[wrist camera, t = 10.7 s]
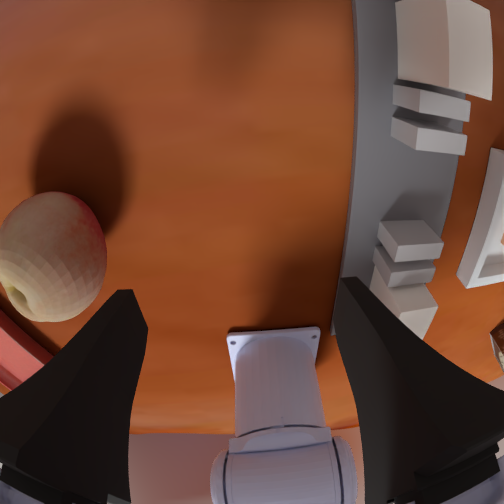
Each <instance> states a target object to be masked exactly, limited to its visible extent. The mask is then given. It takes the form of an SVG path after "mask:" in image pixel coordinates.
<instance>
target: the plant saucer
mask: <svg viewBox="0 0 504 504" xmlns="http://www.w3.org/2000/svg"><path fill="white" fill-rule="evenodd" d="M53 357H54V356H53V355H52V354H50V353H49V352H48V351H47V350H45V349H44V348H43V347H42V346H40V345H39V344H38V343H37V342H36V341H34V340H33V339H32V338H31V337H30V336H29V335H28V334H26V333H25V332H24V331H23V330H22V329H21V328H20V327H19V326H18V325H17V324H15V323H14V322H13V321H12V320H11V319H10V318H9V317H8V316H7V315H6V314H5V313H4V312H3V311H2V310H1V309H0V383H2V384H3V385H4V386H5V387H7V388H8V389H9V390H11V391H12V390H13V389H15V388H16V387H18V386H19V385H20V384H22V383H23V382H24V381H26V380H27V379H28V378H29V377H31V376H32V375H33V374H34V373H36V372H37V371H38V370H40V369H41V368H42V367H43V366H44V365H45V364H46V363H48V362H49V361H50V360H51V359H52V358H53Z"/></svg>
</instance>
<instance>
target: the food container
mask: <svg viewBox="0 0 504 504" xmlns="http://www.w3.org/2000/svg"><path fill="white" fill-rule="evenodd" d="M490 337H491V342H492V346H493V351H494V355H495V357H496V359H497V360H498V362H499V364H500V366H501V368H502V370H503V372H504V323H503V324H501V325H500V326H498V327H497V328H495V329H494V330H493V331H491V332H490Z"/></svg>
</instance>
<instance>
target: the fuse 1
mask: <svg viewBox="0 0 504 504" xmlns="http://www.w3.org/2000/svg"><path fill="white" fill-rule="evenodd" d="M369 289H370V290H371V292H372V293H373V294H374V295H375V296H376V297H377V298H378V299H379V300H380V301H381V302H382V303H383V304H384V305H385V306H386V307H387V308H388V309H389V310H390V311H391V312H392V313H393V314H394V315H395V316H396V317H397V318H398V319H399V320H400V321H402V322H403V323H404V324H405V325H406V326H407V327H408V328H409V329H410V330H411V331H413V332H414V333H415V334H416V335H417V336H418V337H419V338H420V339H423V337H424V336H425V334H426V332H427V330H428V327H429V325H430V323H431V321H432V319H433V317H434V315H435V313H436V311H437V308H438V305H437V303H436V302H435V300H434V298H433V297H432V295H431V294H430V292H429V291H428V289H427V287H426V286H425V284H424V283H419V284H411V285H403V286H395V287H387V286H386V284H385V282H384V280H383V278H382V276H381V275H380V273H379V271H378V269H377V268H376V266H375V267H374V272H373V276H372V280H371V284H370V288H369Z"/></svg>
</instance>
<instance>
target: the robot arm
mask: <svg viewBox="0 0 504 504" xmlns="http://www.w3.org/2000/svg"><path fill="white" fill-rule="evenodd" d="M333 323H334V329H335V334H336V339H337V344H338V347H339V350H340V354H341V357H342V360H343V363H344V366H345V369H346V373H347V376H348V379H349V382H350V385H351V389H352V392H353V395H354V399H355V403H356V408H357V414H358V420H359V426H360V433H361V441H362V450H363V461H364V476H365V477H364V478H365V504H393V503H395V504H504V455H503V456H502V457H500V458H498V459H496V455H495V453H497V452H498V451H499V447H498V444H497V442H498V441H500V440H501V439H503V438H504V391H503V390H500V389H498V388H496V387H493V386H491V385H489V384H487V383H486V382H484V381H482V380H480V379H478V378H476V377H474V376H473V375H471V374H469V373H468V372H466V371H464V370H463V369H461V368H460V367H458V366H457V365H455V364H454V363H452V362H451V361H449V360H448V359H446V358H445V357H444V356H442V355H441V354H439V353H438V352H437V351H436V350H434V349H433V348H432V347H430V346H429V345H428V344H427V343H425V342H424V341H423V340H422V339H420V338H419V337H418V336H417V335H416V334H415V333H414V332H413V331H411V330H410V329H409V328H408V327H407V326H406V325H405V324H404V323H403V322H402V321H400V320H399V319H398V318H397V317H396V316H395V315H394V314H393V313H392V312H391V311H390V310H389V309H388V308H387V307H386V306H385V305H384V304H383V303H382V302H381V301H380V300H379V299H378V298H377V297H376V296H375V295H374V294H373V293H372V292H371V290H370V289H369V288H368V287H367V286H366V285H365V284H364V283H363V282H362V281H361V280H360V279H359V278H358V277H357V276H354V277H343V278H340V281H339V287H338V293H337V298H336V304H335V309H334V315H333ZM147 334H148V327H147V324H146V322H145V320H144V317H143V315H142V312H141V310H140V307H139V305H138V302H137V300H136V297H135V295H134V292H133V289H125V290H117V291H116V292H115V293H114V294H113V295H112V296H111V297H110V298H109V299H108V300H107V301H106V302H105V303H104V304H103V305H102V307H101V308H100V309H99V310H98V311H97V312H96V313H95V314H94V315H93V316H92V318H91V319H90V320H89V321H88V322H87V323H86V324H85V325H84V326H83V327H82V329H81V330H80V331H79V332H78V333H77V334H76V335H75V336H74V337H73V338H72V339H71V340H70V341H69V342H68V343H67V344H66V345H65V346H64V347H63V348H62V349H61V350H60V351H59V352H58V353H57V354H56V355H55V356H54V357H53V358H52V359H51V360H50V361H49V362H48V363H46V364H45V365H44V366H43V367H42V368H41V369H40V370H38V371H37V372H36V373H34V374H33V375H32V376H31V377H29V378H28V379H27V380H26V381H24V382H23V383H22V384H20V385H19V386H18V387H16V388H15V389H13V390H12V391H10V392H9V393H7V394H6V395H4V396H2V397H1V398H0V462H1V463H2V464H3V465H2V469H1V468H0V504H107V503H108V504H130V503H131V498H130V489H129V476H128V444H129V443H128V442H129V428H130V417H131V410H132V404H133V400H134V395H135V391H136V387H137V383H138V379H139V375H140V371H141V367H142V363H143V359H144V355H145V350H146V343H147ZM319 338H320V328H319V327H306V328H294V329H282V330H268V331H252V332H232V333H229V334H228V335H227V343H228V349H229V354H230V359H231V364H232V370H233V375H234V380H235V438H231V439H229V449H224V450H222V451H221V452H220V453H219V455H218V456H217V457H216V458H215V459H214V462H213V464H212V469H211V480H210V485H211V486H210V487H211V496H212V501H213V504H355V503H356V498H357V475H356V468H355V463H354V458H353V454H352V451H351V448H350V445H349V443H348V442H347V441H346V440H344V439H342V437H341V436H334V437H331V431H330V427H326V422H325V416H324V411H323V406H322V400H321V395H320V389H319V384H318V379H317V374H316V369H315V360H316V355H317V349H318V344H319Z"/></svg>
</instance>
